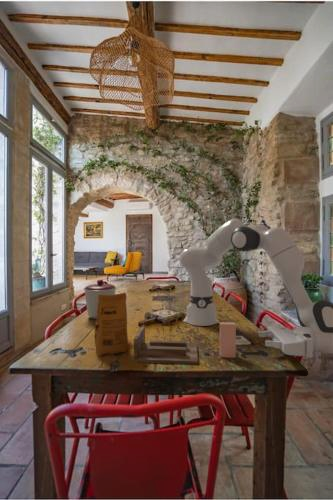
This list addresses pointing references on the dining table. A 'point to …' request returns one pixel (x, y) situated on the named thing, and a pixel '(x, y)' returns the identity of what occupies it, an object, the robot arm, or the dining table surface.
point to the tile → (227, 339)
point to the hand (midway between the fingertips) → (261, 338)
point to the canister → (96, 296)
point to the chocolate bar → (242, 339)
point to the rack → (163, 350)
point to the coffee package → (111, 324)
